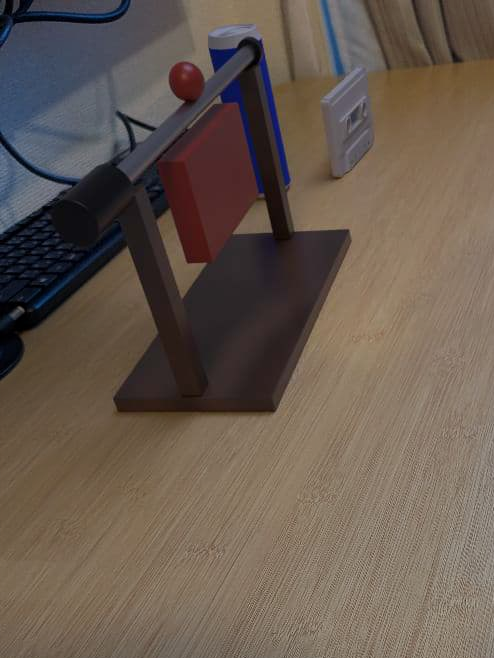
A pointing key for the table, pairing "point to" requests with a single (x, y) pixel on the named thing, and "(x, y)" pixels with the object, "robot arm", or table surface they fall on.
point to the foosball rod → (178, 167)
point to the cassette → (348, 121)
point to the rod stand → (231, 297)
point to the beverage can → (221, 51)
